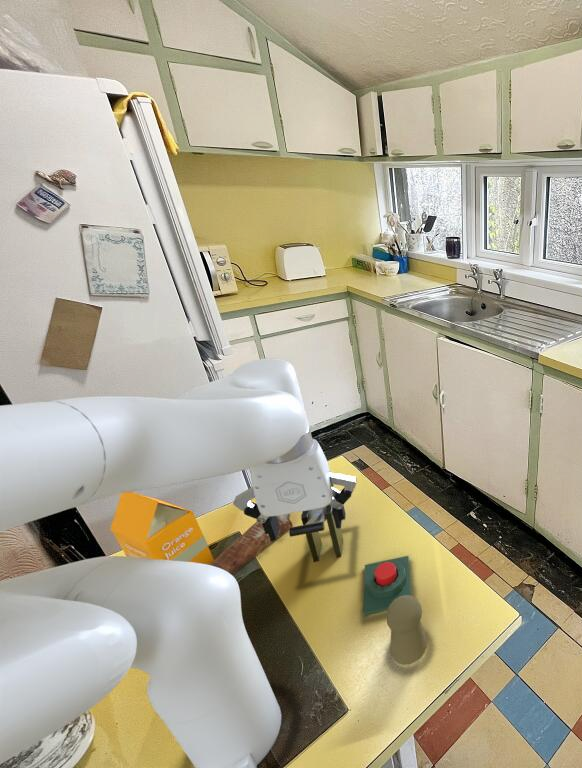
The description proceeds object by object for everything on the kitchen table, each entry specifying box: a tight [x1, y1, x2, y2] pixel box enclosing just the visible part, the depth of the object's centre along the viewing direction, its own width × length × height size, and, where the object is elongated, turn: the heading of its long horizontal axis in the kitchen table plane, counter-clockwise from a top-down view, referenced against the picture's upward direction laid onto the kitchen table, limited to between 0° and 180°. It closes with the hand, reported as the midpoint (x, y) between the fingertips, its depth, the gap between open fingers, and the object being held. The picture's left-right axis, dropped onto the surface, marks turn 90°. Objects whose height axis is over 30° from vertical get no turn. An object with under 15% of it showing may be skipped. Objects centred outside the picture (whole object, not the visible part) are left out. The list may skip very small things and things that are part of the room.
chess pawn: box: [385, 595, 428, 666], centre depth 63 cm, size 6×6×11 cm
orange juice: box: [109, 491, 215, 565], centre depth 72 cm, size 8×9×20 cm
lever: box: [288, 506, 327, 538], centre depth 72 cm, size 12×5×2 cm, turn 16°
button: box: [375, 562, 397, 586], centre depth 73 cm, size 4×4×2 cm
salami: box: [210, 513, 293, 577], centre depth 79 cm, size 6×19×6 cm, turn 156°
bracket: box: [300, 505, 344, 563], centre depth 79 cm, size 12×9×13 cm
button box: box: [362, 555, 413, 617], centre depth 74 cm, size 10×8×4 cm
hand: (308, 528), depth 67 cm, fingers open, 9 cm apart
